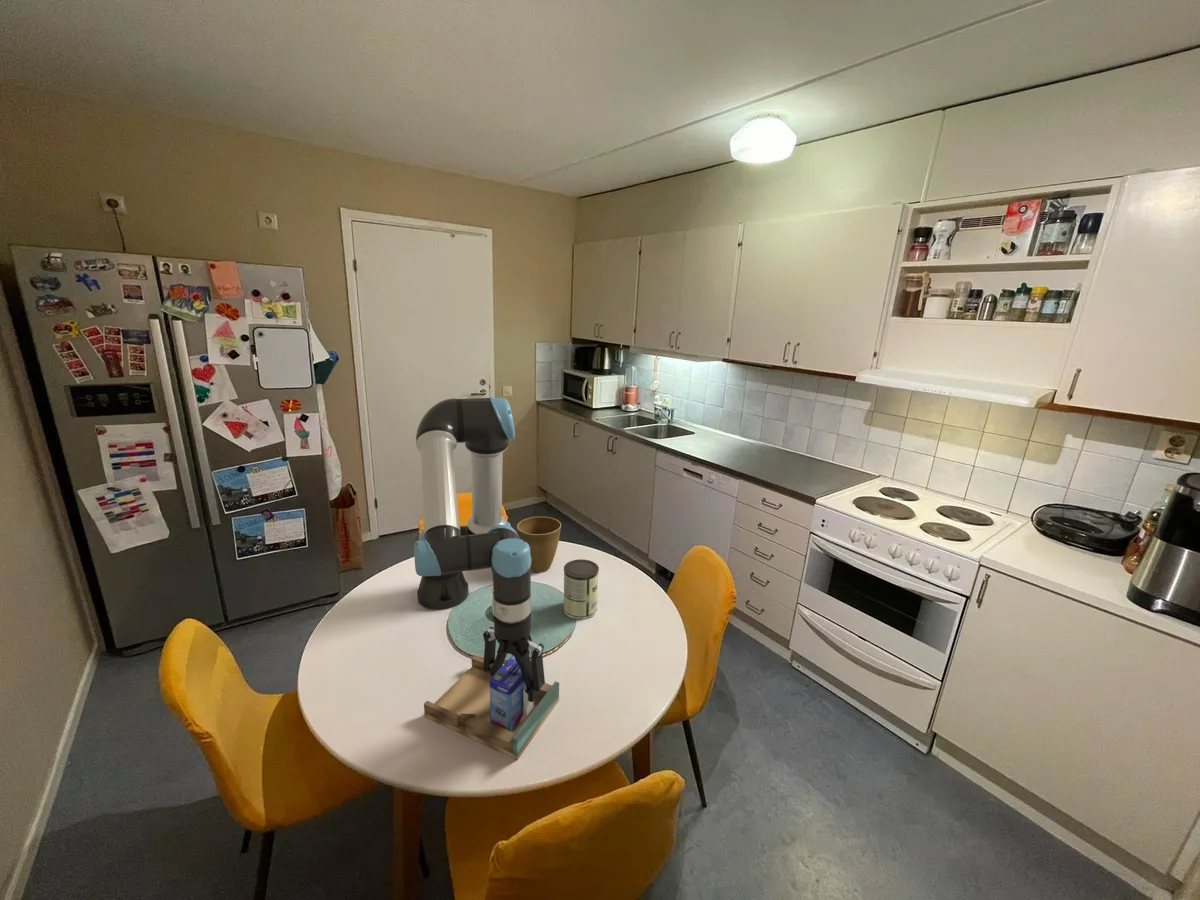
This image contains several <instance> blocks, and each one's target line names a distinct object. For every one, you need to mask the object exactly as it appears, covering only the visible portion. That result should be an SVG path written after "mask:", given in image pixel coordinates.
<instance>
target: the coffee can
mask: <svg viewBox="0 0 1200 900" xmlns="http://www.w3.org/2000/svg"><path fill="white" fill-rule="evenodd" d="M599 570H600V567H599V565H598V564H597V563H596V562H595V561H592V560H589V559H584V558H583V559H581V558H580V559H574V560H570V561H568V562H566V564H564V566H563V612H564V611H565V612H566V614H568V615H569V616H571V617H573V618H572V619H574V618H575V619H574V620H587V619H590V618H592V617H593V616H595V615H596V614H597V612H598V589H599ZM565 612H564V613H565ZM566 614H565V615H566ZM569 616H568V617H569ZM571 617H570V618H571Z"/></svg>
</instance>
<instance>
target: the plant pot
mask: <svg viewBox="0 0 1200 900" xmlns="http://www.w3.org/2000/svg"><path fill="white" fill-rule="evenodd" d="M516 526H517V534H518V536H519V538H520V539H521V540H523V542H527V543H528V545H529V547H530V556H531V559H532V563H531V571H532V572H536V573H537V572H538V573H543V572H546V571H549V569H551V566H552V565H553V561H554V560H555V559H554V558H555V556H556V553H557V549H558V546H559V545H558V544H559V542H560V541H559V540H560V535H561V530H562V529H561V528H562V523H561V521H559V520H558V519H556V518H553V517H551V516H550V517H549V516H532V517H528V518H525V519H522V520H521V521H520V522H518V523H517V525H516Z"/></svg>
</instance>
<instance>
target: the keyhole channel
mask: <svg viewBox="0 0 1200 900" xmlns="http://www.w3.org/2000/svg"><path fill="white" fill-rule="evenodd" d="M483 666H484V658H481V657H479V656H475V655H473V656H472V657H471V667H470V668H469V669H468V670H467V671H466V672H465V673H464V674H463V675H462V676H461V677H460V678H459V679H458V680H457V681H456V682H455V683H454V684H453V685H451V686H450V687H449V689H447V691H446V692H445V693H443V694H442V695H441V696H440V698H438V699H437V701H435V702H434V703H433V702H431V701H429V700H426V701H425V702H423V711H424V718H427V719H429V720H430V721H433V722H435V723H437V724H439V725H441V726H444V727H445V728H448V729H450V730H452V731H455V732H456V733H459V734H461V735H462V736H465V737H467V738H469V739H471V740H474V741H476V742H478V743H480V744H483V745H484V746H487V747H489V748H490V749H493V750H495V751H497V752H499V753H502V754H504V755H506V756H508V757H509V758H513V759H515V760H517V761H518V760H519V758H520V757H521V756H522V754H523V753H524V751H525V750H526V748H527V747H528V746H529V744H530V743H531V741H532V740H533V738H535V736H536V734H537V733H538V732H539V730H540V728H541V727H542V726H543V724H544V723H545V722H546V720H547V718H548V717H549V716H550V715H551V713H552V711H553V710H554V708H555V707H556V706H557V705H558V703H559V701H560V682H558V681H556V680H555V681H554V682H553V683H552V684H549V683H547V682H545V683H544V685H543V686H542V687H541V688H540V690H539V691H536V698H535V699H534V701H533V708H532V710H531V711H530V712H529V714H528V715H527V716H524V717H523V718H522V720H521V721H520V722H519V723H518V725H517V726H516V727H515V728H514V730H513V731H512V732H510V731H508V730H506V729H504V728H501V727H499V726H497V725H495V724H492V723H490V679H491V678H492V676H491V675H490V672H489V671H487V672H485V671H484V669H483Z"/></svg>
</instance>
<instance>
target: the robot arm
mask: <svg viewBox="0 0 1200 900" xmlns="http://www.w3.org/2000/svg"><path fill="white" fill-rule="evenodd" d="M415 435H416V436H415V446H416V448H417V450H418V451H419V452H420V465H421V487H422V488H421V491H422V493H421V495H422V513H423V514H422V515H423V516H422V517H423V529H422V530H421V532H420V534H419V540H416V541H415V543H414V546H413V555H414V556H413V557H414V558H413V559H414V569H415V573H416V575H417V576H420V577H421V578H420V581H419V582H420V583H419V585H418V588H417V593H416V595H417V596H416V597H417V603H418V604H419V605H420V606H422V607H423V608H425V609H427V610H428V609H429V610H446V609H451V608H453V607H455V606H457V605H460V604H462V603H463V602H464V601H466V599H467V598H468V596H469V593H470V591H469V590H470V589H469V584H468V582H467V580H466V578H465V574H464V572H470V571H478V570H480V571H481V570H485V569H491V573H492V574H491V575H492V589H493V590H492V591H493V614H494V615H493V625H494V626H490V627H488V628H487V630H485V631H484V633H482V636H483V640H484V648H483V649H484V650H483V652H484V653H483V654H484V655H483V659H484V666H483V669H484V671H485V672H487V671H489V672H490V675H491V676H493V675H494V674H495V673H496V672H497V671H498V670H499V669H500V668H502V666H503V665H504V664H505V661H506V658H507V654H509V655H511V656H512V655H513V656H514V657H515V660H516V662H518V663H519V666H520V669H521V673H522V676H523V679H524V682H525V685H526V687H525V688H524V689H523V706H524V715H525V716H527V715H528V714H529V712H530V711H531V710H532V708H533V701H534V699H535V698H536V691H539V690H540V688H541V687H542V686H543V685H544V683H546V679H545V669H544V660H543V652H544V648H545V646H544V644H543V643H539V644H536V643H535V642H533V640H532V637H531V629H532V613H531V612H532V589H531V588H532V587H531V585H532V582H531V581H532V580H531V578H532V577H531V575H532V573H531V571H532V570H531V563H532V559H531V556H530V547H529V545H528V543H527V542H523V540H521V539H520V538H519V534H518V532H517V531H516V530H515V529H514V528H513V527H512V525H511V523H510V522H509V521H507V519H506V517H505V516H504V515H503V514H502V511H503V507H502V506H503V463H504V462H503V459H504V457H503V456H504V455H503V454H504V452H506V451H507V450H508V448H509V442H512V441H514V440H515V439H516V438H515V437H516V431H515V424H514V419H513V413H512V408H511V405H510V403H509V401H508V400H507V399H506V398H503V397H491V396H490V397H479V398H478V397H477V398H475V397H474V398H473V397H472V398H471V397H469V398H455V397H454V398H448V399H444V400H441V401H439V402H437V403H436V404H434V405H433V406H431V407H430V408H429V409H428V410H427V412H425V414H424V416H423V417H422V419H421V420H420V421H419V424H418V426H417V430H416V434H415ZM460 443H461V444H462V443H465V444H464V445H465V446H464V447H465V448H466V450H468V451H469V453H470V459H471V460H470V461H471V462H470V463H471V464H470V465H471V495H472V496H471V504H472V505H471V507H472V516H470V517H469V518H468V521H467V525H461V524H460V516H459V505H458V504H459V503H458V491H457V490H458V489H457V480H456V468H455V467H456V466H455V456H454V451H455V450H456V448H457V444H460ZM461 602H462V603H461ZM497 643H498V648H497ZM496 648H497V649H496ZM496 651H497V652H496ZM530 658H531V660H530Z"/></svg>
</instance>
